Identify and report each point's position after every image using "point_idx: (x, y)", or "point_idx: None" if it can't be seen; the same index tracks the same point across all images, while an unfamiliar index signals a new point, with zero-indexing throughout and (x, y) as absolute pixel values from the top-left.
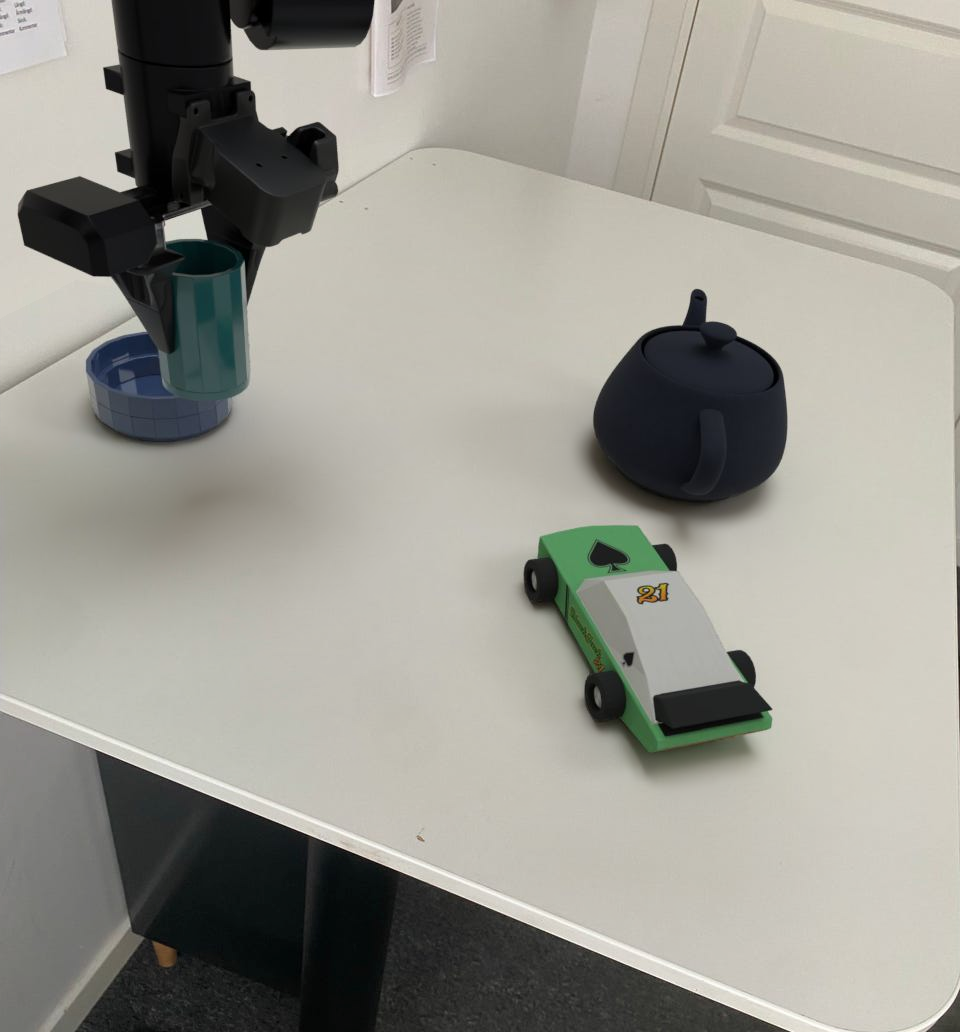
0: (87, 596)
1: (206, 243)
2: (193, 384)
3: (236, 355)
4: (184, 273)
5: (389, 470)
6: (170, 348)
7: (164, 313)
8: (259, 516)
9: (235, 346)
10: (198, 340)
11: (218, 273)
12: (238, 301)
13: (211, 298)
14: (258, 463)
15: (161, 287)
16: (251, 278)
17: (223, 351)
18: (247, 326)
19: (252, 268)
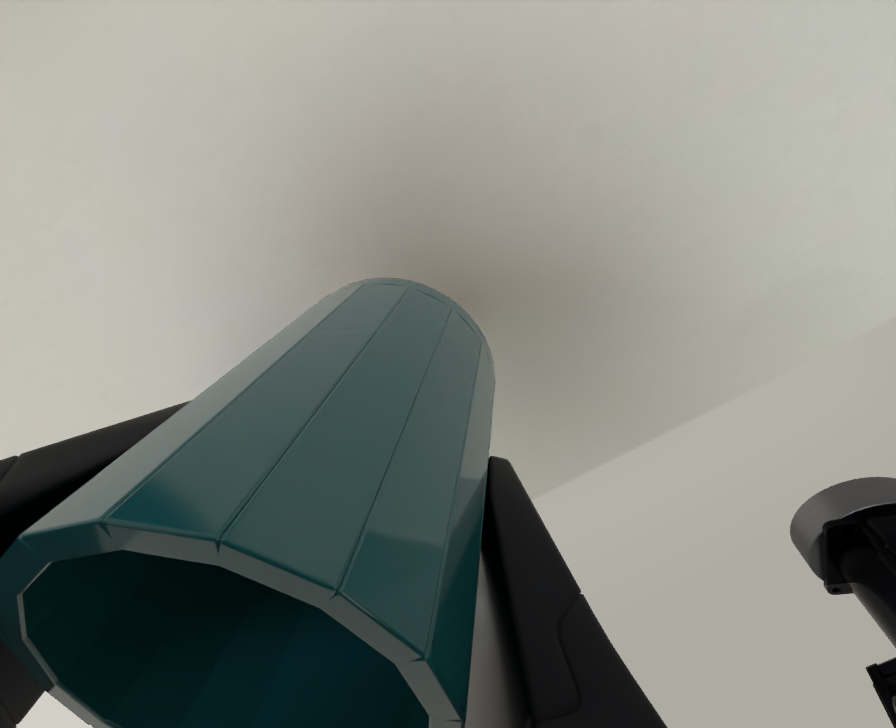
0: (724, 313)
1: (83, 694)
2: (487, 369)
3: (378, 316)
4: (242, 617)
5: (208, 60)
6: (509, 468)
7: (556, 574)
8: (450, 200)
9: (368, 329)
10: (465, 422)
11: (271, 582)
12: (261, 404)
13: (389, 495)
14: (337, 275)
15: (610, 717)
16: (72, 452)
17: (416, 346)
18: (262, 348)
19: (23, 477)
